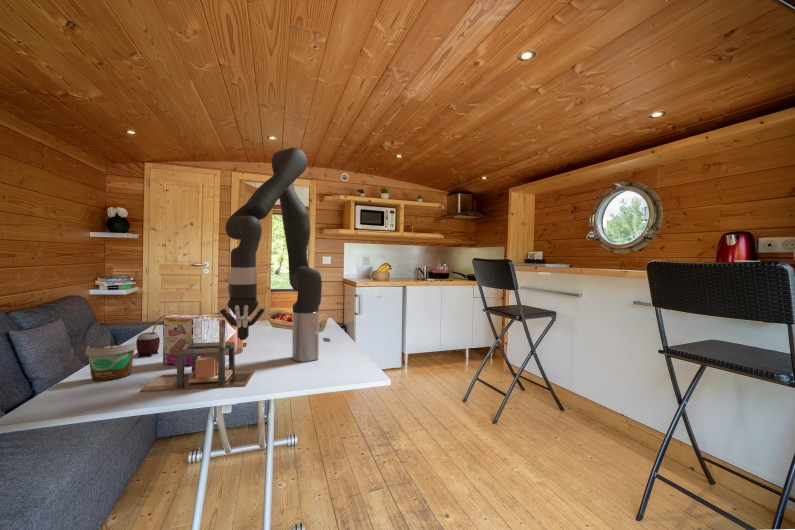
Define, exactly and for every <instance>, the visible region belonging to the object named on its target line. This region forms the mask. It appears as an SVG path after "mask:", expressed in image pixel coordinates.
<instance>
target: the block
mask: <svg viewBox="0 0 795 530" xmlns="http://www.w3.org/2000/svg"><path fill="white" fill-rule="evenodd" d="M217 374H218V356H201V357H200V358H198V359H197V360H196V361H195V378H205V377H215V376H216V375H217Z"/></svg>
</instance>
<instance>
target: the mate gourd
mask: <svg viewBox="0 0 795 530" xmlns="http://www.w3.org/2000/svg"><path fill="white" fill-rule="evenodd" d="M165 316H166V315H165V314H163V315H162V316H159V318H157V320H156V321H155V322H154V326H153V329H152V330H151V331H150V332H143V333H139V335H138V336H137V338H136V342H135V344H136V347H137V348H136V351H137V354H138V355H137V357H138V358H141V357H149V358H151V357H153V356H154V355H158V354H159V349H160V344H161V343H160V342H161V338H160V335H159V334H158V333H157V332H155V330H156V328H157V325H158V323H159V322H160V320H161V319H163V317H165Z"/></svg>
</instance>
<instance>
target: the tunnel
mask: <svg viewBox="0 0 795 530" xmlns="http://www.w3.org/2000/svg"><path fill="white" fill-rule="evenodd" d="M235 346H236V342H235V341H225V348H219V341H217V342H216V341H214V342H202V343H193V344H191V345H190V346H188V347H187V349H183V350H182V351H180V352H179V353H177V365H176V373H169V374H161V375H159V376H158V377H156V378H155V379H154V380H152V381H150V382H149V383H148V384H146V385H145V386H144V387H142V388H141V389H140V390H139V393H149V392H151V393H152V392H165V391H167V392H168V391H185V390H202V389H217V388H218V389H219V388H220V389H221V388H222V389H223V388H235V387H238V388H239V387H240V388H241V387H246V386H247V385H248V383H249V382H250V380H251V379H252V377H253V375H254V374H255V373H256V370H255V369H253V370H252V369H251V370H236V369H235V368H236V367H235V365H236V363H235V361H236V347H235ZM227 353H228V370H233V373H232V374H231V376H230V377H229V378H228V379H227V380H226V381H225V370H226V354H227ZM198 356H218V381H216V382H197V383H188V375H189V374H191V373H192V372H193V371H194V370H195V361H196V360H197V359H198ZM184 357H192V366H191V372H189V373H187V372H186V373H185V365H184Z"/></svg>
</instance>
